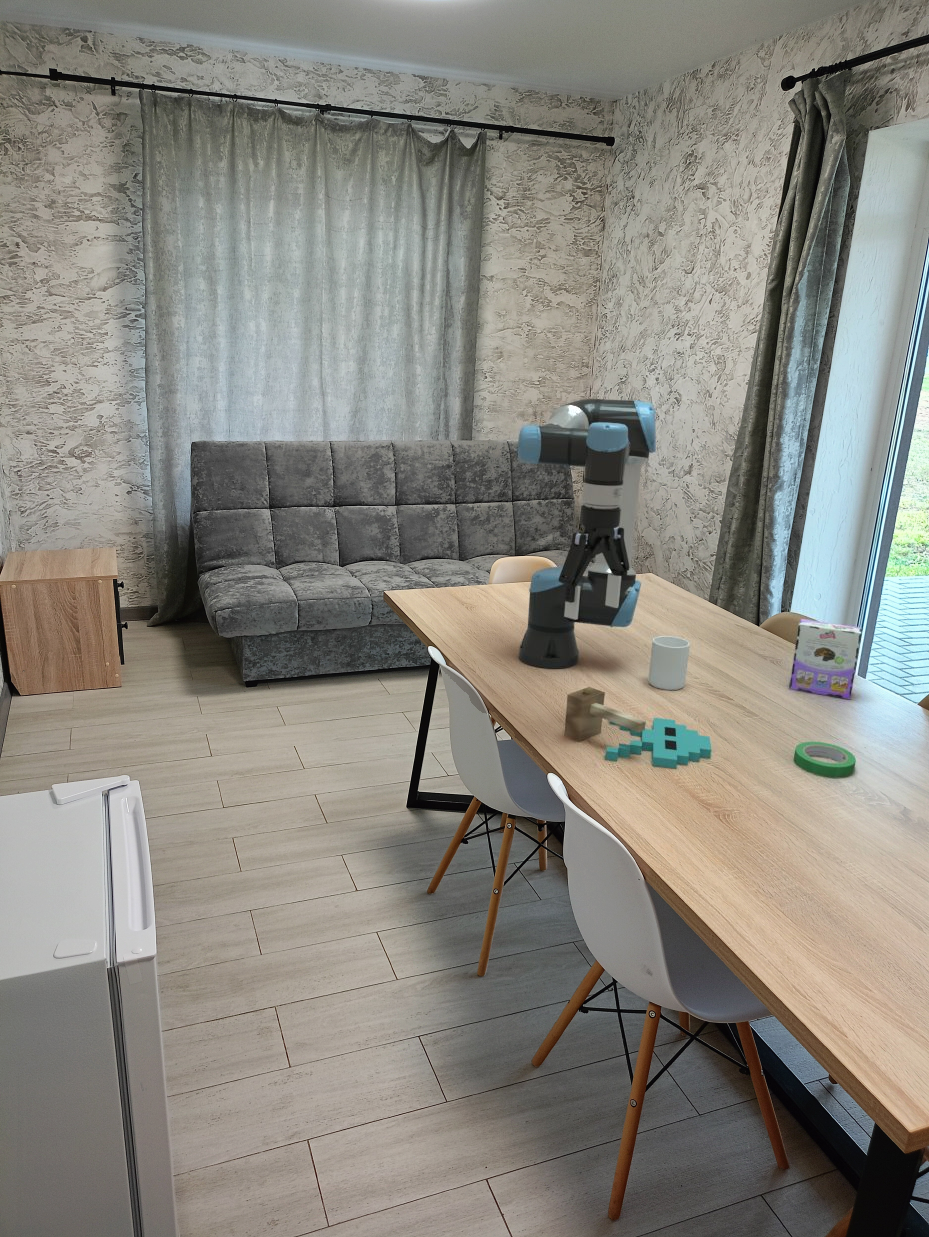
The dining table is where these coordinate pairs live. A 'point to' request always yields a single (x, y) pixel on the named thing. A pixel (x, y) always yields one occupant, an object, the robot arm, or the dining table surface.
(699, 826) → the dining table surface
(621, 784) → the dining table surface
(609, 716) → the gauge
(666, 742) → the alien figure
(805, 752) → the tape roll
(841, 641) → the candy box
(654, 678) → the mug
